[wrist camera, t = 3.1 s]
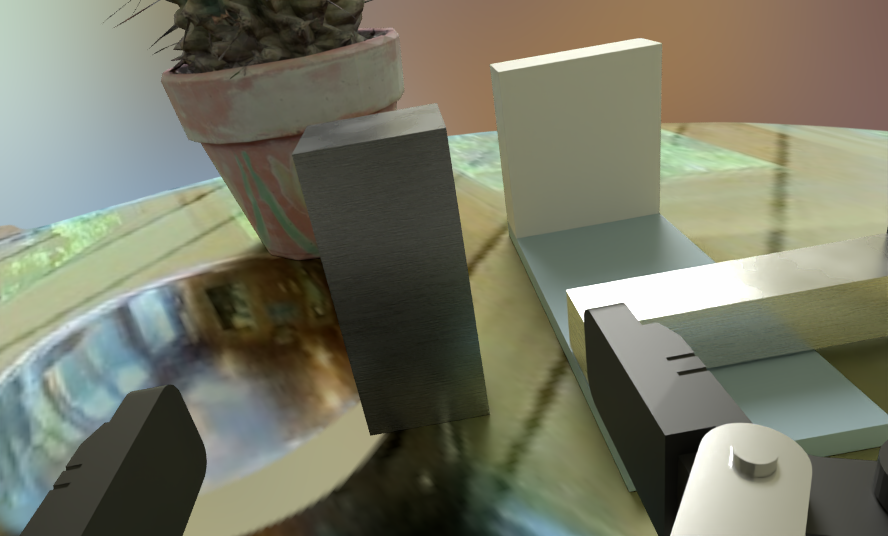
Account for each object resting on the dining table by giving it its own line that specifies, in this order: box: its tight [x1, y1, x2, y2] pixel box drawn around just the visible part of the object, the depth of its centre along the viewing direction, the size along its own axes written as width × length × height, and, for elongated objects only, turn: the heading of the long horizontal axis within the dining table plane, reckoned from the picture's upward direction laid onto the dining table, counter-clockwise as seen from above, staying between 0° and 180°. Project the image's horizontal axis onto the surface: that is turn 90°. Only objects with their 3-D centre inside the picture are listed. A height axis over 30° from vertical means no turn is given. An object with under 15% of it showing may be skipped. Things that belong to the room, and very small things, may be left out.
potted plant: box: [110, 0, 404, 260], centre depth 40 cm, size 18×20×25 cm
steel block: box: [292, 103, 490, 435], centre depth 23 cm, size 5×4×12 cm
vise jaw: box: [566, 229, 888, 384], centre depth 22 cm, size 16×3×12 cm, turn 95°
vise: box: [490, 38, 888, 492], centre depth 27 cm, size 9×22×11 cm, turn 5°
